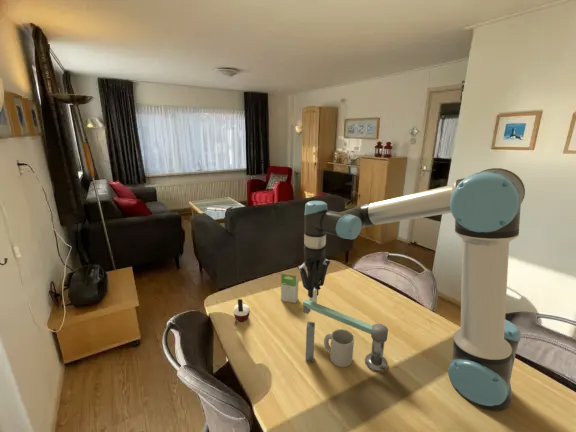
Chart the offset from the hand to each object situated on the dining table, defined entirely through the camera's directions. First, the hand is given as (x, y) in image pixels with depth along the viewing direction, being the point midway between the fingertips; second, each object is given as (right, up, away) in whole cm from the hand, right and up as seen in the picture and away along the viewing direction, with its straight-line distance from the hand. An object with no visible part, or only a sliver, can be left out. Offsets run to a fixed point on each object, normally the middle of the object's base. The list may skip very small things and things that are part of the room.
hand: (312, 303), depth 105 cm
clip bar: (+9, -5, -8) cm, 13 cm away
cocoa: (-28, -9, +8) cm, 31 cm away
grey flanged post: (+19, -15, -13) cm, 28 cm away
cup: (+7, -15, -11) cm, 20 cm away
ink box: (-9, -5, +22) cm, 24 cm away
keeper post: (-2, -15, -12) cm, 19 cm away
